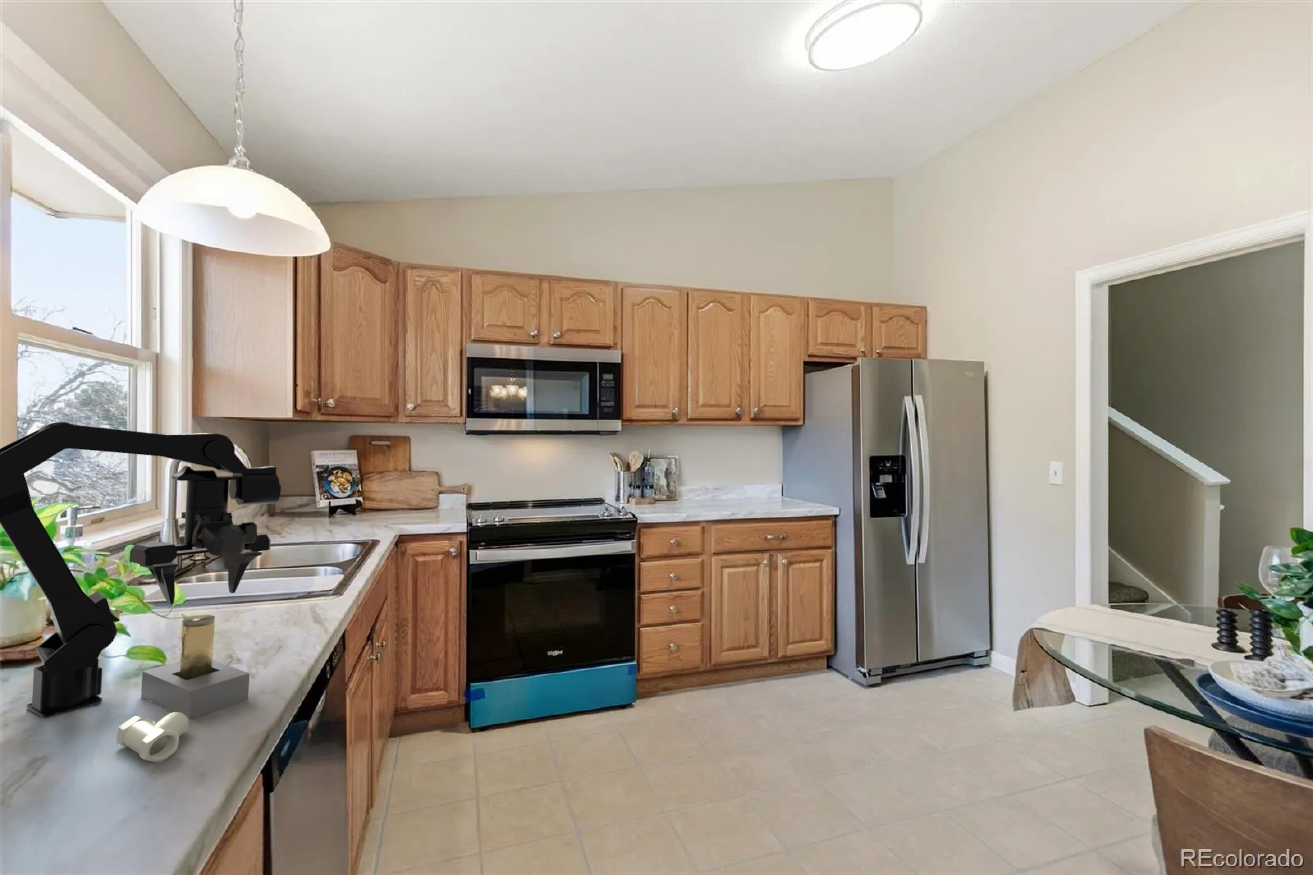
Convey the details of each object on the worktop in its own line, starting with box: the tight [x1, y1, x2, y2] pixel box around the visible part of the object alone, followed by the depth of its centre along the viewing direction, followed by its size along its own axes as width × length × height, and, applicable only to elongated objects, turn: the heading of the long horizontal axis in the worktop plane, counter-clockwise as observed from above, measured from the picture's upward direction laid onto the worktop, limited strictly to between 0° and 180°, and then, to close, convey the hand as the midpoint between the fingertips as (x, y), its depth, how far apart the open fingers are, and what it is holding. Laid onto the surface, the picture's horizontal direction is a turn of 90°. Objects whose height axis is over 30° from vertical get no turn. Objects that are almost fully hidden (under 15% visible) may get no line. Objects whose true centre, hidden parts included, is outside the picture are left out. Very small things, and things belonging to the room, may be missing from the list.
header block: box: [140, 659, 250, 720], centre depth 92 cm, size 8×14×4 cm, turn 63°
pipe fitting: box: [115, 712, 189, 763], centre depth 78 cm, size 8×4×7 cm
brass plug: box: [179, 614, 216, 679], centre depth 92 cm, size 4×4×8 cm
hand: (202, 598), depth 101 cm, fingers open, 9 cm apart
